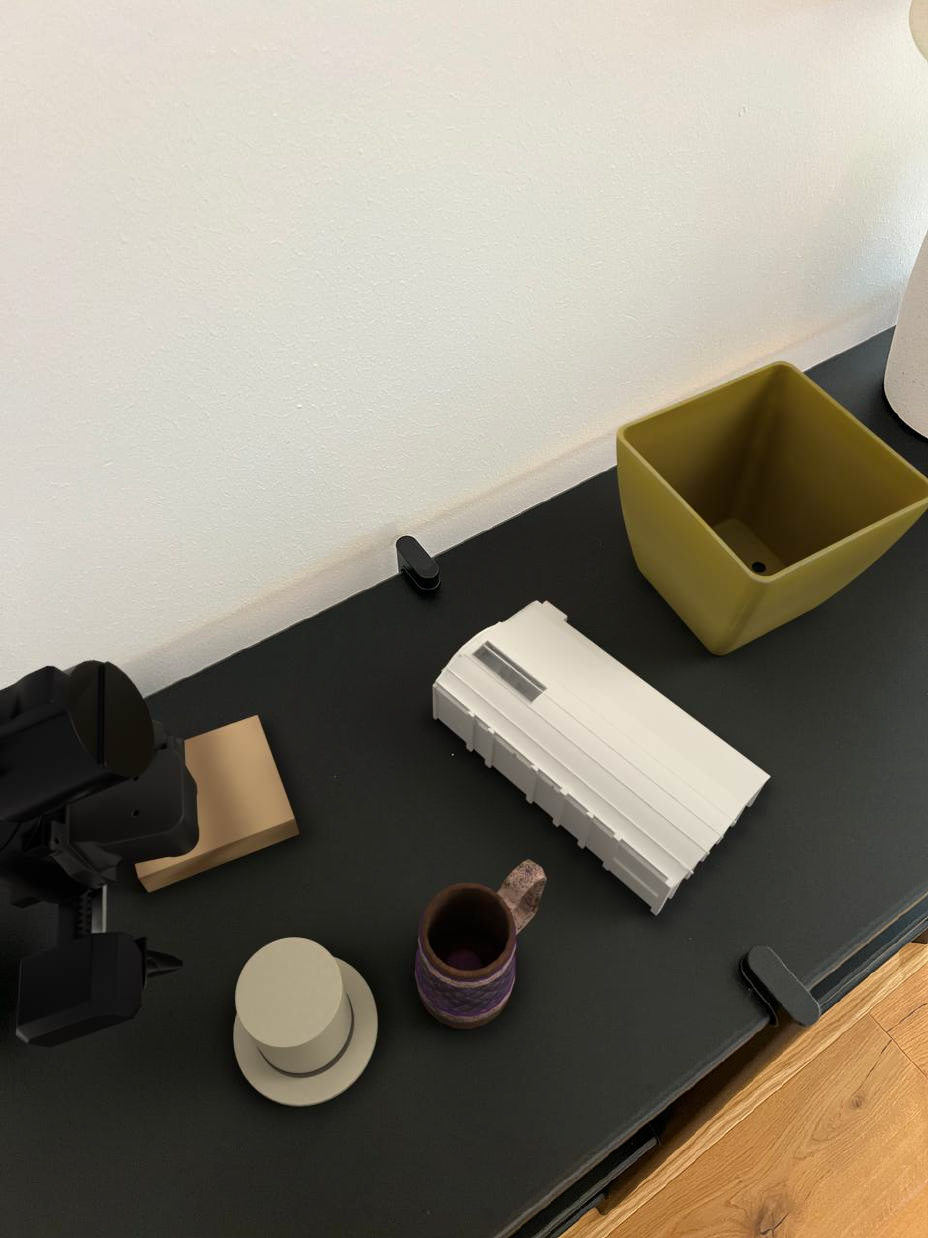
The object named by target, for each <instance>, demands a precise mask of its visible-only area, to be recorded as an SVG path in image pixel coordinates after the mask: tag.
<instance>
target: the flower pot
mask: <svg viewBox="0 0 928 1238" xmlns="http://www.w3.org/2000/svg"><path fill="white" fill-rule="evenodd" d="M615 436H616V439H615V440H616V441H615V447H616V449H615V451H616V468H617V469H616V471H617V473H616V474H617V484H618V491H619V497H620V498H619V499H620V504H621V509H622V516H623V520H624V524H625V529H626V533H627V537H628V541H629V544H630V547H631V551H632V554H633V558H634V560H635V563H636V566H637V568H638V570H639V572H640V573H641V574H642V575H643V577H644V578H645V579H646V580H647V581H648V583H649V584H651V586H652V587H653V588H654V589H655V590H656V591H657V593H658V594H659V595H660V596H661V597H662V598H663V600H664V601H665V602H666V603H667V604H668V605H669V606H670V608H671V609H672V610H673V611H674V612H675V614H676V615H677V616H679V619H681V620H682V621H683V623H684V624H685V625H686V626H687V627H688V628H689V630H690V631H691V632H692V634H693V635H695V637H697V639H698V640H699V641H700V642H701V644H702V645H703V646H704V647H705V648H706V650H707V651H708V652H710V653H711V654H713V655H715V656H726V655H727V654H730V653H731V652H733V651H736V650H737V649H739V648H741V647H743V646H746V645H747V644H749V643H750V642H752V641H755V640H757V639H758V638H760V637H762V636H764V635H766V634H767V633H769V632H772V631H773V630H776V629H777V628H779V627H781V626H783V625H785V624H786V623H788V622H791V621H793V620H794V619H796V618H798V617H800V616H802V615H804V614H806V613H807V612H810V611H811V610H813V609H815V608H817V607H818V606H820V605H822V604H823V603H824V602H826V601H827V600H828V599H830V598H831V597H832V596H834V595H835V594H837V593H838V592H839V591H840V590H842V589H843V588H845V587H846V586H847V585H848V584H850V583H851V582H852V581H853V580H854V579H856V578H858V577H859V576H860V575H861V574H862V573H863V572H865V571H866V570H867V569H868V568H869V567H870V566H871V565H873V564H874V563H875V562H877V560H878V559H879V558H881V557H882V556H883V555H884V554H885V553H886V552H887V551H888V550H889V549H891V547H892V546H893V545H894V544H895V543H896V542H897V541H899V540H900V539H901V538H902V537H903V536H904V534H906V532H907V531H908V530H909V529H910V528H911V527H913V525H914V524H915V523H916V522H917V521H918V520H919V519H920V518H921V517H922V515H923V514H924V513H925V512H926V511H927V510H928V477H926V476H925V475H924V474H923V473H921V471H919V470H918V469H917V468H915V467H914V466H913V465H912V464H911V463H909V462H908V461H907V460H906V459H905V458H903V456H901V455H900V454H899V453H898V452H896V451H895V450H894V449H893V448H892V447H891V446H889V445H888V444H887V443H885V441H884V440H882V439H881V438H880V437H879V436H877V435H876V434H875V433H874V432H873V431H871V430H870V429H869V428H868V427H867V426H866V425H864V424H863V423H862V422H861V421H860V420H859V419H857V417H855V416H854V415H853V414H852V413H851V412H849V410H847V409H846V408H844V406H842V405H841V404H840V403H839V402H838V401H836V399H834V398H833V397H832V396H831V395H830V394H829V393H827V392H826V391H825V390H824V389H822V388H821V387H820V386H819V385H818V384H817V383H816V382H815V381H813V380H812V379H811V378H810V377H808V376H807V375H806V374H805V372H804V371H802V370H801V369H799V368H798V367H797V366H795V364H793V363H790V362H788V361H785V360H776V361H773V362H771V363H768V364H766V365H764V366H762V367H759V368H757V369H755V370H752V371H750V372H748V373H745V374H743V375H740V376H738V377H736V378H733V379H731V380H729V381H726V382H723V383H721V384H719V385H717V386H714V387H712V388H709V389H707V390H705V391H703V392H699V393H698V394H695V395H692V396H690V397H687V398H685V399H684V400H683V399H682V400H681V401H678V402H675V403H674V404H670V405H669V406H668V405H667V407H663V408H661V409H659V410H656V411H654V412H651V413H649V414H647V415H645V416H642V417H639V418H637V419H634V420H632V421H630V422H627V423H625V424H623V425H621V426H619V427H618V428H617V430H616V435H615ZM755 563H760V564H762V565H764V566H765V569H764V571H762V572H757V571H756V570H755V569H753V564H755Z"/></svg>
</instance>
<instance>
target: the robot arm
mask: <svg viewBox="0 0 928 1238" xmlns="http://www.w3.org/2000/svg"><path fill="white" fill-rule="evenodd" d="M197 793H198V792H197V784H196V782H195V780H194V778H193V776H192V775H191V773H190V771H189V770H188V768H187V766H186V762H185V739H183V738H182V737H174V736H172V734H171V732H170V731H169V729H168V727H167V726H166V725H165V724H163V723H161V722H159V721H158V720H156V719H153V718H152V716H151V713H150V710H149V708H148V706H147V704H146V701H145V699H144V697H143V695H142V693H141V692H140V690H139V689H138V687H137V686H136V684H135V682H134V681H133V680H132V679H131V678H130V677H129V676H128V675H127V673H126V672H124V671H123V670H122V669H121V668H120V667H119V666H118V665H116V664H115V663H113V662H111V661H108V660H106V661H100V660H97V659H89V660H83V661H81V662H80V663H77V664H74V665H72V666H70V667H68V668H66V669H63V670H61V669H60V668H58V667H56V666H55V665H45V666H43V667H41V668H39V669H36V670H34V671H32V672H29V673H28V674H26V675H24V676H22V677H21V678H20V679H19V680H17V681H16V682H14V683H12V684H11V685H9V686H6V687H4V688H1V689H0V887H1V888H4V889H7V890H9V893H8V894H9V895H8V896H9V897H8V905H11V906H13V907H15V908H20V909H22V910H23V909H26V908H28V907H31V906H33V905H36V904H38V903H41V902H45V903H47V904H51V905H57V928H56V929H57V933H56V946H53V947H52V948H49V949H46V950H43V951H41V952H38V953H35V954H32V955H29V956H26V957H24V958H22V959H21V960H20V966H19V975H18V976H19V977H18V978H19V979H18V991H17V993H18V994H17V996H18V997H17V1009H16V1025H15V1036H17V1037H18V1038H19V1039H21V1040H22V1041H23V1042H24V1043H25V1044H27V1045H32V1046H37V1047H43V1048H50V1049H51V1048H54V1047H56V1046H61V1045H62V1044H65V1043H69V1042H71V1041H73V1040H76V1039H80V1038H82V1037H85V1036H88V1035H91V1034H94V1033H96V1032H99V1031H103V1030H105V1029H108V1028H111V1027H114V1026H117V1025H120V1024H122V1023H125V1022H128V1021H131V1020H134V1019H135V1017H136V1016H137V1014H138V1012H139V1011H140V1009H141V1007H142V1006H143V993H144V991H145V990H146V987H147V985H148V979H150V978H154V977H155V978H156V977H159V976H162V975H166V974H171V973H174V972H176V971H179V970H181V969H184V961H182V960H181V959H180V958H178V957H176V956H174V955H172V954H168V953H165V952H161V951H158V950H154V949H149V948H148V940H147V939H148V937H147V936H146V935H144V936H141V937H140V936H139V937H138V938H134V936H133V935H131V934H127V933H125V932H122V931H107V903H108V902H107V901H108V899H107V897H108V891H107V890H108V885H111V884H113V883H116V882H117V866H118V867H127V866H131V865H135V864H137V863H142V862H147V861H152V860H157V859H161V858H166V857H179V856H183V855H186V854H188V853H189V852H191V851H192V850H193V849H194V848H195V847H196V845H197V843H198V841H199V825H198V811H197Z"/></svg>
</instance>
